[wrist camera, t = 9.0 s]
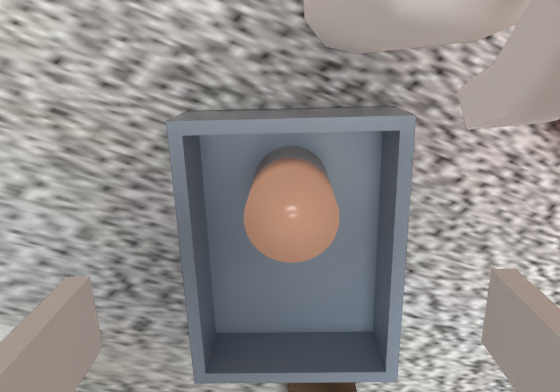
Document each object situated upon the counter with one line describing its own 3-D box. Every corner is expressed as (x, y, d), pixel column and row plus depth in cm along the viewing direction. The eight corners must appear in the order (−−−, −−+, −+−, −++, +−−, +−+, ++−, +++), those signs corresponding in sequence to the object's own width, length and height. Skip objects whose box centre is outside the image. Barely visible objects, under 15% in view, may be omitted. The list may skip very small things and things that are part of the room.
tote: (207, 337, 33) (194, 383, 28) (187, 111, 28) (166, 121, 23) (381, 335, 33) (397, 381, 28) (394, 105, 28) (416, 115, 23)
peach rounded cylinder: (255, 217, 29) (246, 263, 23) (252, 146, 28) (241, 173, 21) (327, 216, 29) (338, 262, 23) (328, 145, 28) (340, 171, 21)
